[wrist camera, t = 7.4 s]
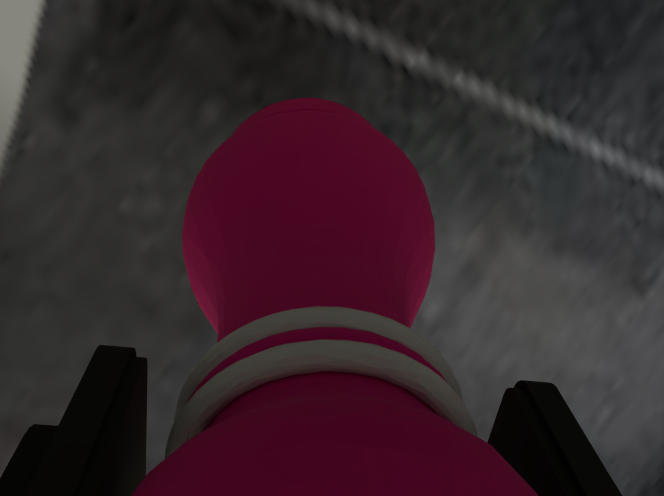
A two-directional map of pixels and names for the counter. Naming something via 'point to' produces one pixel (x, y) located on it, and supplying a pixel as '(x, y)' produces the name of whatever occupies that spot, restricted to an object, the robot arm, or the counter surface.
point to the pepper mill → (317, 324)
